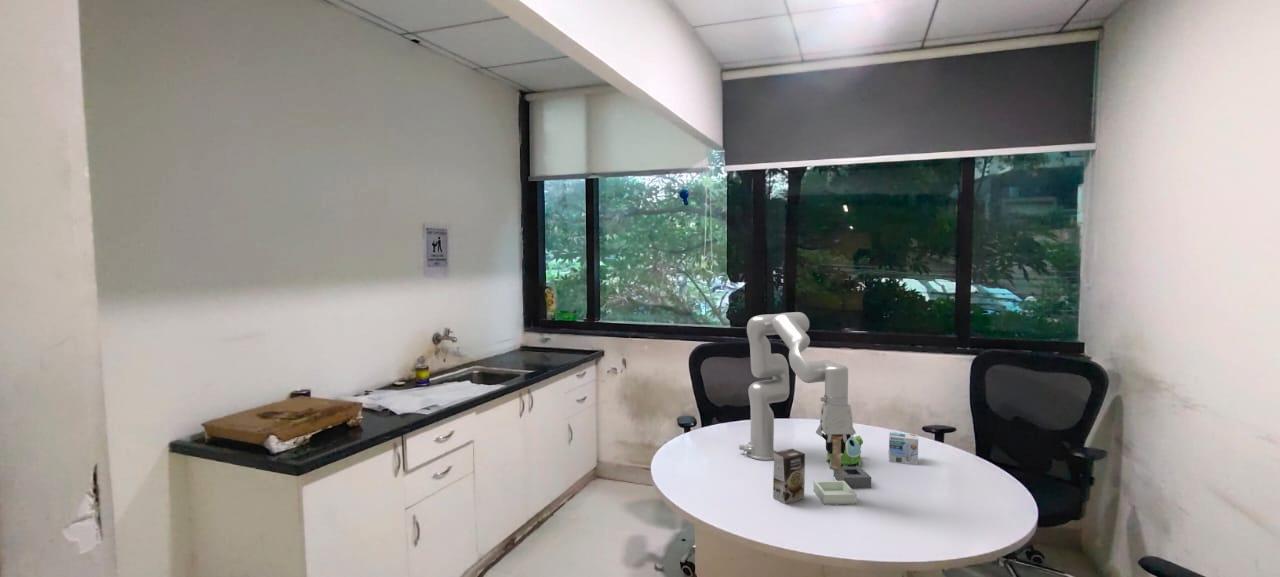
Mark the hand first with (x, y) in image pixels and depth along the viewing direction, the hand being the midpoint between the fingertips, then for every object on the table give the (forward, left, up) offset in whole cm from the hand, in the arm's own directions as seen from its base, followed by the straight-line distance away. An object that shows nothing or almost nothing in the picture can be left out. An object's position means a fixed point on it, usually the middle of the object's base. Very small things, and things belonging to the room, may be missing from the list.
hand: (835, 451), depth 189 cm
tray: (0, 0, -16) cm, 16 cm away
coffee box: (-16, 0, -17) cm, 23 cm away
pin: (0, 0, -6) cm, 6 cm away
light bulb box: (+40, +32, -17) cm, 54 cm away
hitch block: (+11, +12, -16) cm, 23 cm away
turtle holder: (+16, +31, -17) cm, 39 cm away
